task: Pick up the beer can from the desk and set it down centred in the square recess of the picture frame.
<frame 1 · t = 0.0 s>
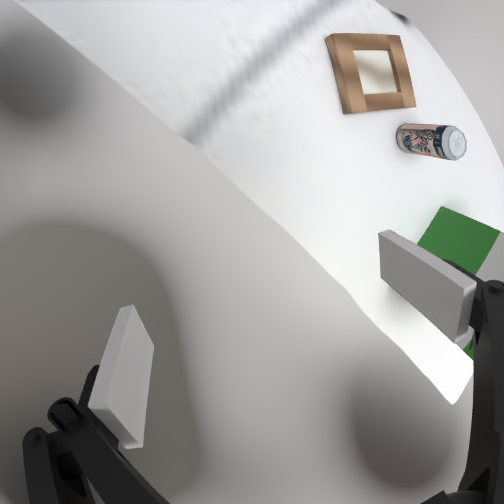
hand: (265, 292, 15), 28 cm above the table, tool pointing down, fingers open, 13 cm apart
hardback book: (425, 254, 51), on the table
picture frame: (369, 73, 37), on the table
beer can: (405, 137, 42), on the table
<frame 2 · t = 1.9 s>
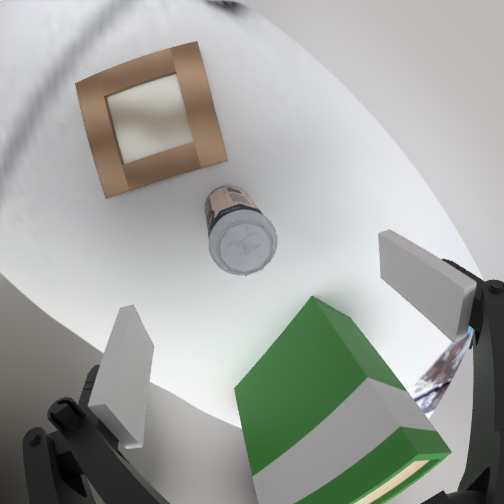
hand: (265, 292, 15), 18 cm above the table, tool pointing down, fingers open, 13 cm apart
hardback book: (291, 355, 40), on the table
picture frame: (151, 119, 27), on the table
beer can: (227, 207, 32), on the table
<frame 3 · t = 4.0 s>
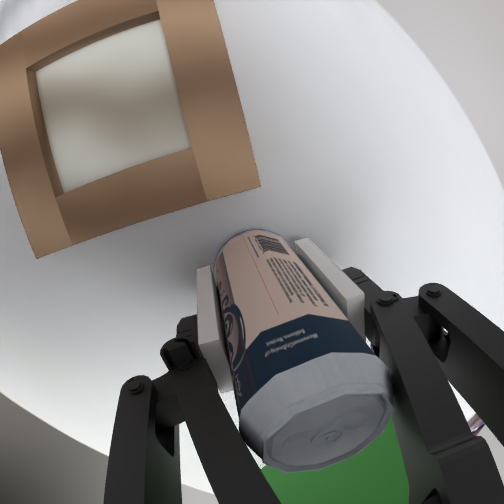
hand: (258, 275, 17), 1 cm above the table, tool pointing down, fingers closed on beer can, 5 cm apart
hardback book: (328, 438, 27), on the table
picture frame: (114, 106, 13), on the table
beer can: (253, 264, 18), on the table, touching gripper
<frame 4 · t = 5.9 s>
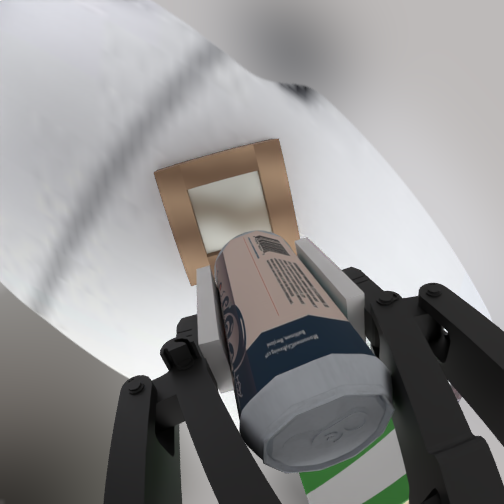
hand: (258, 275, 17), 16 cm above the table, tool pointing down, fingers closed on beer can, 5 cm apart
hardback book: (332, 392, 45), on the table
picture frame: (229, 208, 32), on the table
beer can: (253, 265, 18), point 15 cm above the table, touching gripper
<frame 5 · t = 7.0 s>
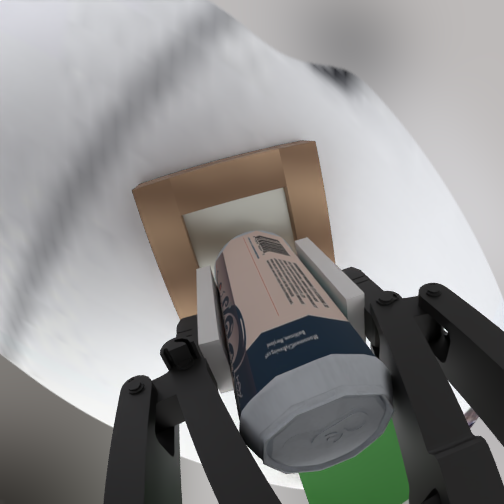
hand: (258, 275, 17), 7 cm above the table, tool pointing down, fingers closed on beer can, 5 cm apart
hardback book: (352, 433, 36), on the table
picture frame: (241, 237, 23), on the table
beer can: (253, 265, 18), point 5 cm above the table, touching gripper
when the fingers open (3 cm above the table, at t = 7.7 s): beer can stays where it is, resting on picture frame.
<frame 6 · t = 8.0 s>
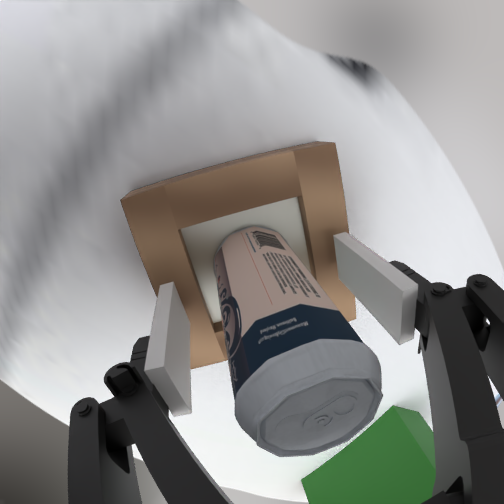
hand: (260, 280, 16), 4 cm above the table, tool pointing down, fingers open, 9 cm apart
hardback book: (360, 448, 34), on the table
picture frame: (248, 252, 20), on the table
beer can: (252, 260, 19), point 1 cm above the table, touching picture frame
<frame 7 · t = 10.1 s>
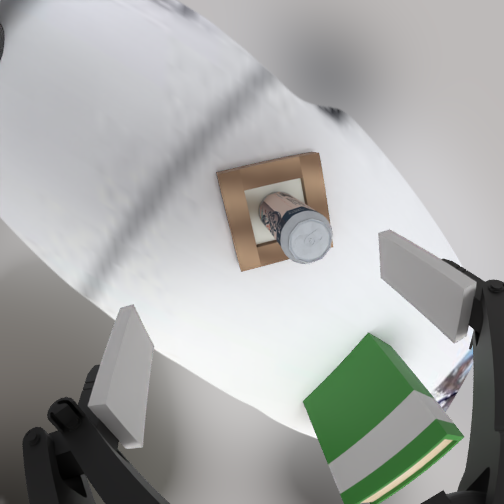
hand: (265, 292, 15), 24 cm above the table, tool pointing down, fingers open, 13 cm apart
hardback book: (347, 374, 51), on the table
picture frame: (274, 208, 38), on the table
beer can: (277, 210, 37), point 1 cm above the table, touching picture frame
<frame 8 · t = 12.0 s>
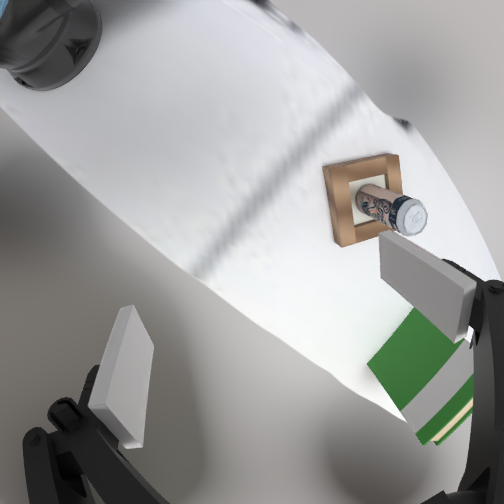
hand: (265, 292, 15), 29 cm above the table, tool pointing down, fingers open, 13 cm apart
hardback book: (402, 337, 59), on the table
picture frame: (363, 196, 45), on the table
beer can: (367, 198, 44), point 1 cm above the table, touching picture frame
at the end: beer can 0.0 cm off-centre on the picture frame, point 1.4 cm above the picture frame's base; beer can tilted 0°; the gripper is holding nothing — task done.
